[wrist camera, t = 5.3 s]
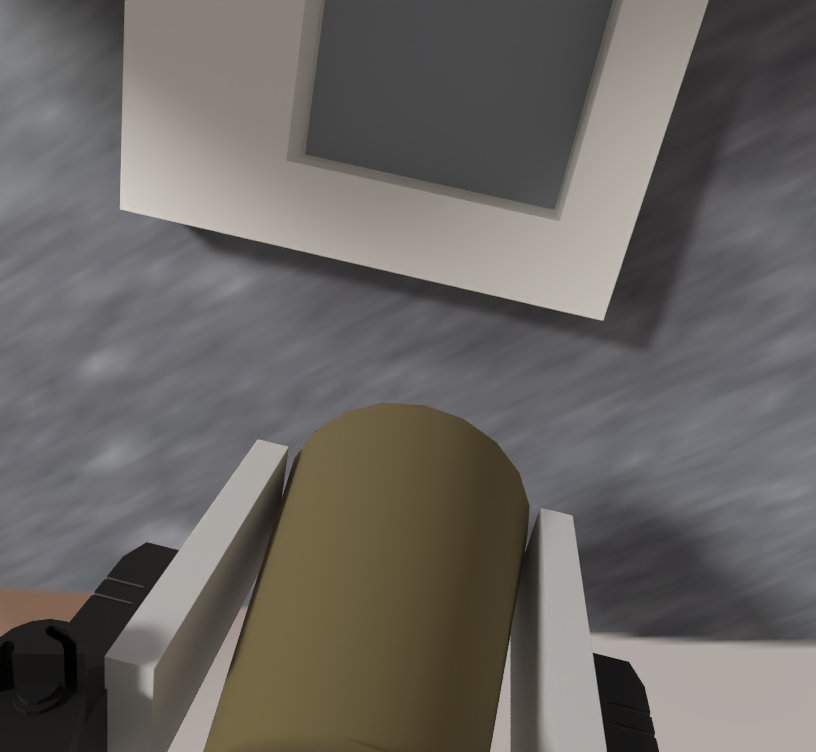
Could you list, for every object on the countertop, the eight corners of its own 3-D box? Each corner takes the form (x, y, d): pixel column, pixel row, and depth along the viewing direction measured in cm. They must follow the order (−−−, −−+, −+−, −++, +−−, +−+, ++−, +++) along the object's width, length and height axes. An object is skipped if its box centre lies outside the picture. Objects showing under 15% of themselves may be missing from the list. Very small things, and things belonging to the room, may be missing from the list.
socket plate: (155, 200, 22) (120, 209, 20) (176, -301, 17) (132, -355, 15) (594, 300, 22) (603, 321, 20) (753, -195, 16) (787, -238, 14)
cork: (540, 605, 17) (586, 1356, 7) (314, 612, 18) (74, 1266, 8) (516, 391, 15) (532, 1049, 5) (259, 414, 16) (-168, 982, 6)
